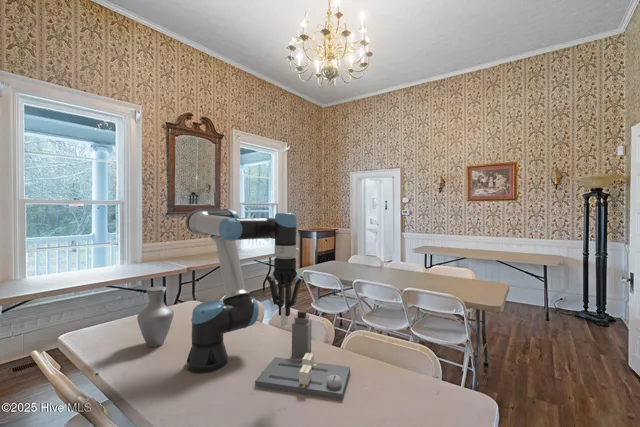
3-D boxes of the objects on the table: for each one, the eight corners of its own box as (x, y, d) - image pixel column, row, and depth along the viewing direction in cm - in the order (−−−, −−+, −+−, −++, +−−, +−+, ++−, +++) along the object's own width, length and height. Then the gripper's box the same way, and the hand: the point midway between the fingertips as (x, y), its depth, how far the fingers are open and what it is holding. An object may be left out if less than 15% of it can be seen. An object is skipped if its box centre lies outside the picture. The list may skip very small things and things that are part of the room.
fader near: (299, 383, 103) (299, 371, 103) (303, 376, 108) (303, 364, 108) (307, 385, 102) (307, 372, 102) (311, 377, 107) (311, 365, 107)
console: (255, 386, 105) (255, 374, 105) (275, 362, 122) (275, 351, 122) (342, 400, 98) (342, 387, 98) (350, 372, 115) (350, 361, 115)
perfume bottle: (307, 358, 126) (308, 314, 126) (291, 356, 128) (292, 312, 128) (311, 351, 133) (311, 309, 133) (296, 349, 134) (296, 308, 134)
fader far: (302, 370, 112) (302, 358, 112) (305, 363, 117) (306, 352, 117) (309, 371, 111) (310, 359, 111) (313, 364, 116) (313, 353, 116)
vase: (129, 347, 134) (129, 290, 134) (157, 335, 147) (158, 283, 147) (153, 353, 129) (153, 293, 129) (180, 340, 142) (181, 286, 142)
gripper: (263, 257, 105) (262, 326, 105) (299, 259, 102) (298, 330, 102) (272, 254, 112) (271, 319, 112) (306, 256, 109) (305, 323, 109)
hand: (284, 324), depth 107 cm, fingers closed
